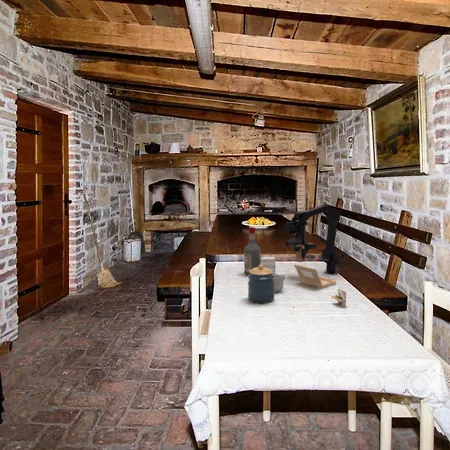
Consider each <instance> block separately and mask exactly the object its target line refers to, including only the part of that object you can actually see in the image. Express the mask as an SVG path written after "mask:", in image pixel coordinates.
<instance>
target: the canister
mask: <svg viewBox="0 0 450 450" xmlns="http://www.w3.org/2000/svg"><path fill="white" fill-rule="evenodd" d="M249 272H250V274H249V275H248V276H247V278H248V282H247V284H248V285H247V287H248V294H247V297H248V300H249V301H250V302H252V303H253V304H269V303H272V302H273V301H274V300H275V292H274V282H273V278H274V275H273V274H272V270H270V269H269V268H265V267H263V265H261V264H260V265H259V266H258V267H256V268H253V269H252V270H250V271H249Z"/></svg>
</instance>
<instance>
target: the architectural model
mask: <svg viewBox="0 0 450 450" xmlns="http://www.w3.org/2000/svg"><path fill="white" fill-rule="evenodd" d="M337 292H338V294H337V293H335V295H331V296H330V298H331V299H334V300H335V301H337V302H338V304H339V306H340V307H342V308H346V307H347V291H345V290H343V289H341V288H338V289H337Z"/></svg>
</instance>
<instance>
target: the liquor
mask: <svg viewBox="0 0 450 450" xmlns="http://www.w3.org/2000/svg"><path fill="white" fill-rule="evenodd" d="M248 233H249V235H248V236H249V238H248V239H249V241H248V243H247V245H246V246H245V247H244V249H243V252H244V253H243V258H244V259H243V261H244V262H243V263H244V265H243V266H244V267H243V269H244V272H243V273H244V275H245V274H246V275H245V276H247V277H248V275H249V274H250V272H249V271H250V270H252V269H253V268H256V267H258V266H259V265H260V264H261V258H262V256H261V255H262V250H261V247H260V246H259V245H258V244H257V242H256V234H255V233H256V227H253V226H252V227H249V228H248Z"/></svg>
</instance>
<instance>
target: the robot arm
mask: <svg viewBox="0 0 450 450" xmlns="http://www.w3.org/2000/svg"><path fill="white" fill-rule="evenodd" d="M320 214H322V215H324V216H325V220H326V223H327V230H326V231H327V233H326V242H325V243H326V245H325V248H323V249H321V256H322V259H323V263H326V268H325V269H326V270H325V271H324V273H325V274H330V275H336V274H339V271H338V269H337V268H338V265H340V263H341V261H340V259H339V257H337V251H336V248H335V246H336V245H335V244H336V243H335V242H336V233H337V225H338V224H339V222H340V219H341V212H340V211H339V210H336V209H335V208H332V207H330V206H329V205H327V204H321V205H318V206H316V207H313V208H310V209H307V210H299V211H296V212H294V214H293V216H292V218H291V220H290V222H288V221H287V222H285V225H284V226H283V232H284V234H285V235H293V238H290V239H289V240H286V242H285V246H287V247H290V248H291V249H292V250H293V252H294V254H295V255H296V251H302V259H304V258H305V259H306V256H307V254H308V252H309V250H314V249H317V245H316V243H314V242H308V241H307V240H306V237H307V236H308V235H307V234H306V226H309V223H308V222H307V221H309V220H310V218H312V217H314V216H317V215H320ZM335 273H336V274H335Z"/></svg>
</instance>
